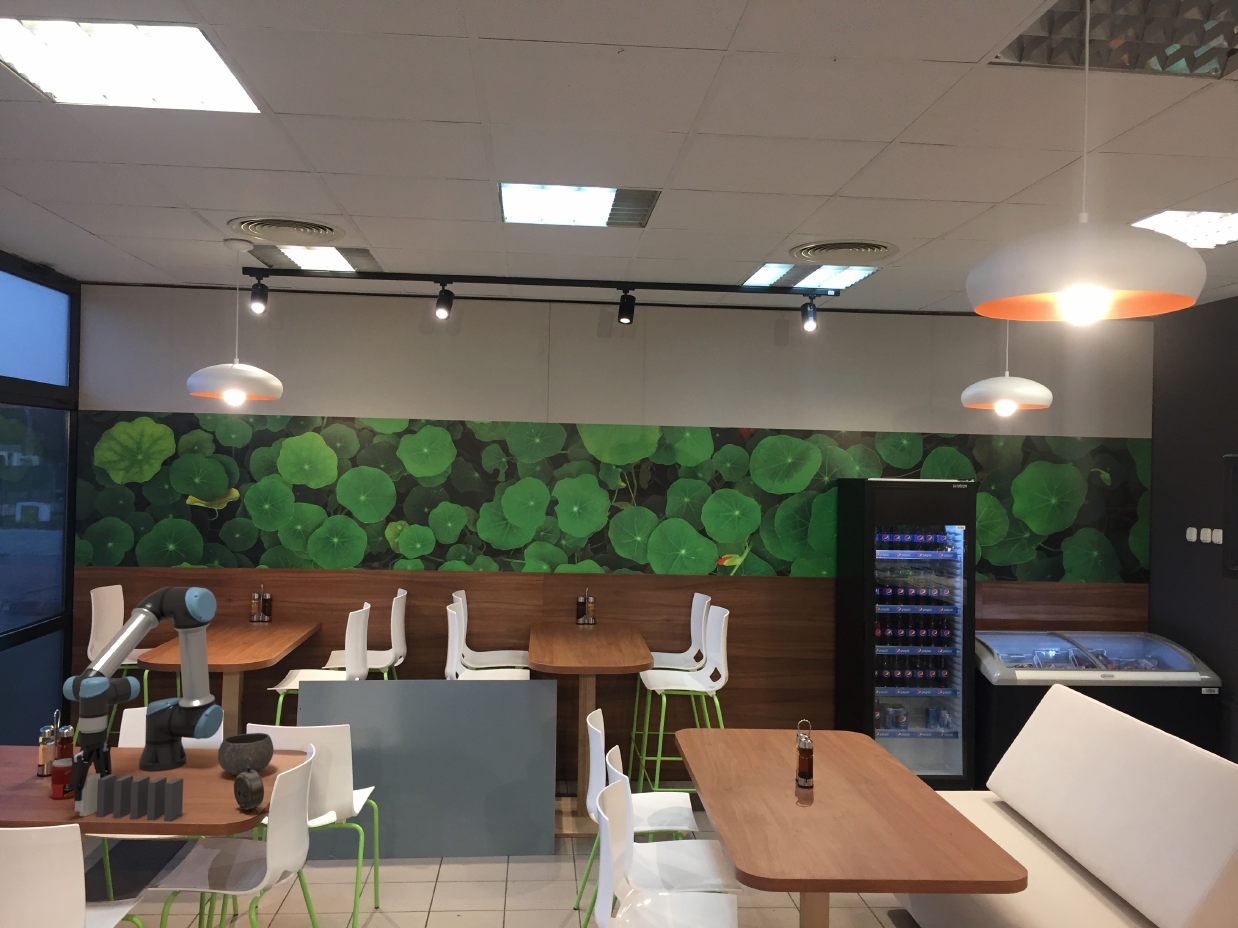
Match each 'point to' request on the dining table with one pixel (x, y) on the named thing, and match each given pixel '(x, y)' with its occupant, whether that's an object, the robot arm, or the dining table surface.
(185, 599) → the robot arm
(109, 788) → the tile
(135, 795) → the tile
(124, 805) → the tile
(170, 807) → the tile
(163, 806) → the tile
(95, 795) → the tile
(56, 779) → the canned food
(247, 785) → the alarm clock
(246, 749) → the bowl
